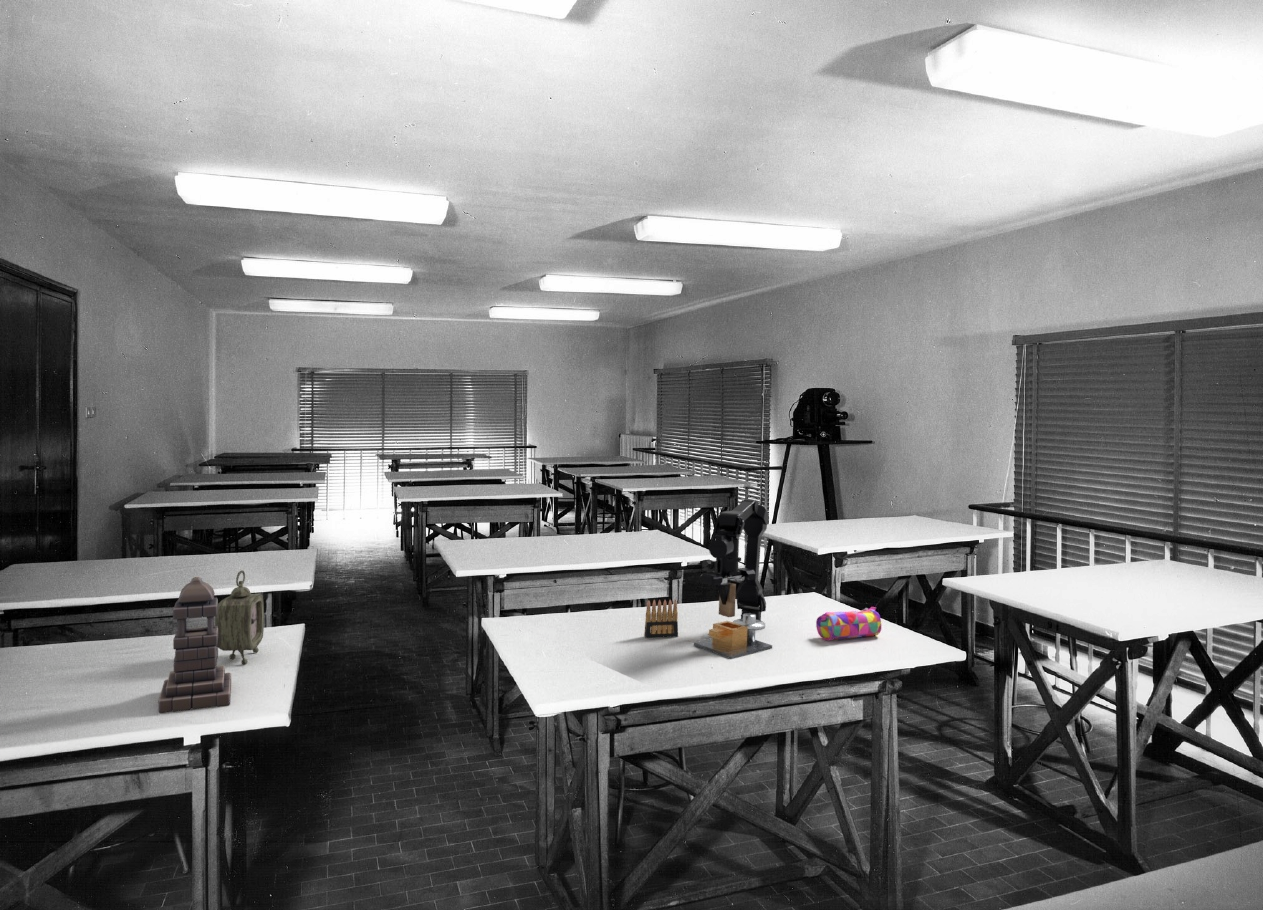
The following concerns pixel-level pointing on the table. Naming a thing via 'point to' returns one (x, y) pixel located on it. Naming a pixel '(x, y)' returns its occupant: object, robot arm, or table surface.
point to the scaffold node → (735, 637)
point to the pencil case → (849, 624)
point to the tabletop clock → (240, 621)
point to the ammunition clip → (661, 620)
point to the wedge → (728, 602)
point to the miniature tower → (195, 655)
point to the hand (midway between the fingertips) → (727, 603)
